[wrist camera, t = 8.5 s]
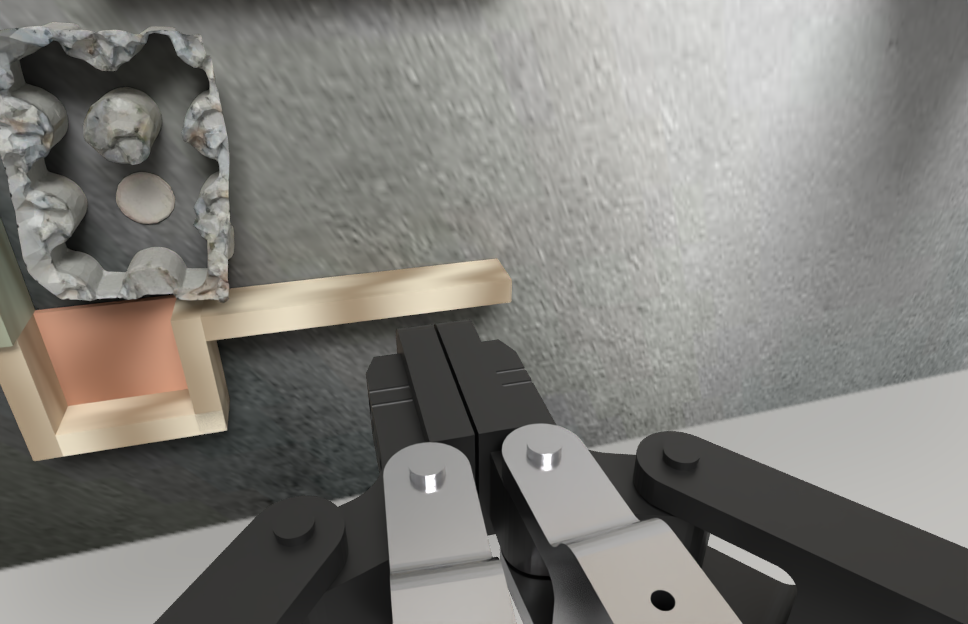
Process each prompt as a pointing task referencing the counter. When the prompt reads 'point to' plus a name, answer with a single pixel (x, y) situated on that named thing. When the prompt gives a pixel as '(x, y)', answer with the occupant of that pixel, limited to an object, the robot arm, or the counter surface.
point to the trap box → (182, 348)
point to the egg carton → (118, 138)
